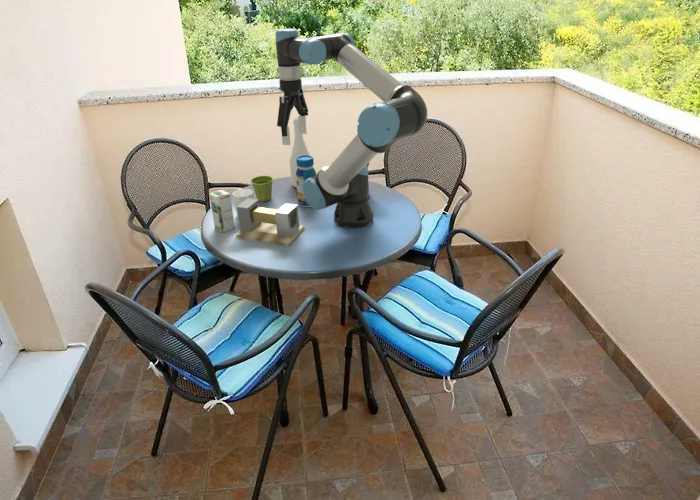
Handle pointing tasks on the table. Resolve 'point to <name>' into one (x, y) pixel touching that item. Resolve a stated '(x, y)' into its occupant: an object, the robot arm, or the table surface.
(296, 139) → the wine bottle
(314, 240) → the table surface
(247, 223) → the socket
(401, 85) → the robot arm
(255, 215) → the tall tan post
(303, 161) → the beverage bottle
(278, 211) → the grey rectangular block
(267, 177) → the plant pot
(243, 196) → the white cup
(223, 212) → the syrup box
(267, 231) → the board
